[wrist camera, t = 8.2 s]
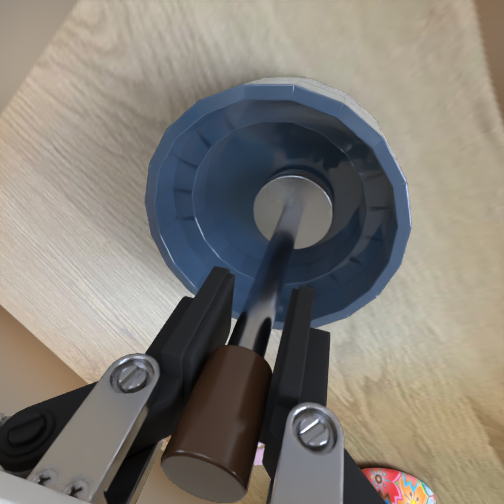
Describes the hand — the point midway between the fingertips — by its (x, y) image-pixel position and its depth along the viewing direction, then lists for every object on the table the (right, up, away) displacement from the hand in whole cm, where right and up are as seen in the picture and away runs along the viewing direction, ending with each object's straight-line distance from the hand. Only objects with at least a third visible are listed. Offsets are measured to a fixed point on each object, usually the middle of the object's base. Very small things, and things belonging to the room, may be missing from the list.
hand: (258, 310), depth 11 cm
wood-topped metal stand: (+2, +5, +8) cm, 10 cm away
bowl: (+2, +6, +9) cm, 11 cm away
